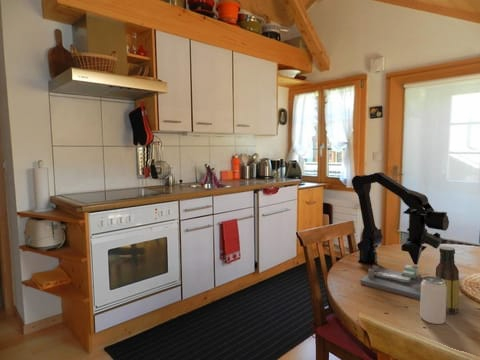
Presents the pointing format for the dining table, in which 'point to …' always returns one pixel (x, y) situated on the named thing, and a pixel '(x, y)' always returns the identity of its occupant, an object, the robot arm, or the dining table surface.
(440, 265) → the sauce bottle
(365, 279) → the board
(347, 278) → the dining table surface
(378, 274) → the strap
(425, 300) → the can
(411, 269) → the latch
